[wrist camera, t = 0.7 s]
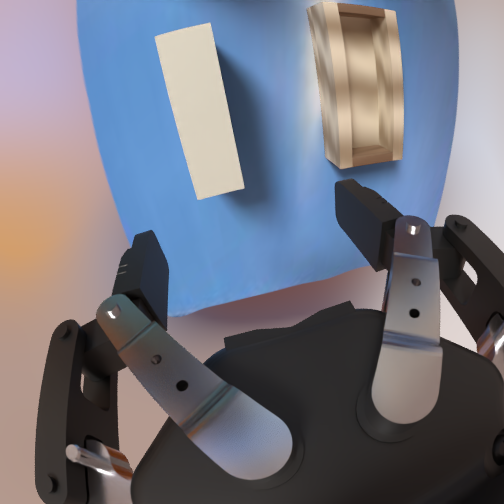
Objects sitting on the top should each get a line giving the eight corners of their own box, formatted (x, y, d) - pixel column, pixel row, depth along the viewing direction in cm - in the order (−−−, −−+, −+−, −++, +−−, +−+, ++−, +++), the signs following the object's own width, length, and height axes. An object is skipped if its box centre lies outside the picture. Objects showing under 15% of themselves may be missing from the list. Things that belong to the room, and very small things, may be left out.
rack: (306, 8, 20) (322, 2, 17) (374, 13, 20) (395, 11, 17) (325, 157, 31) (340, 169, 28) (383, 148, 31) (402, 159, 28)
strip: (165, 46, 20) (154, 36, 14) (205, 36, 21) (210, 22, 14) (196, 167, 29) (197, 199, 23) (232, 158, 29) (244, 188, 23)
